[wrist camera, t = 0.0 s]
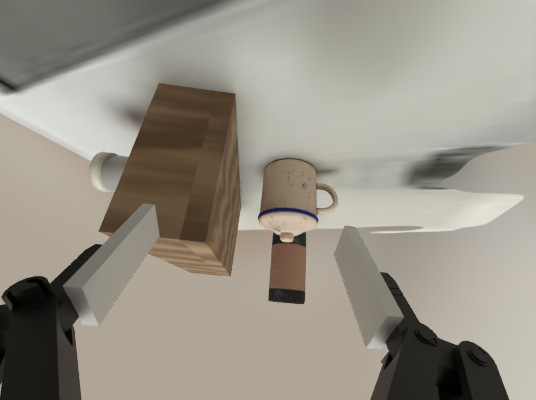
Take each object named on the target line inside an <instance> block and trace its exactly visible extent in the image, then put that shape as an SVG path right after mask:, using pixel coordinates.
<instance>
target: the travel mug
mask: <svg viewBox="0 0 536 400" xmlns="http://www.w3.org/2000/svg"><path fill="white" fill-rule="evenodd" d="M305 272H306V232H303V233H301V234H299V235H297V236H294V239H293V241H292V242H283V241H281V240H280V235H278V234H276V233H274V232H273V242H272V253H271V269H270V283H269V301H273V302H283V303H295V304H304V302H305Z"/></svg>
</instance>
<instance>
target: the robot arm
mask: <svg viewBox="0 0 536 400" xmlns="http://www.w3.org/2000/svg"><path fill="white" fill-rule="evenodd" d="M159 237H160V235H159V228H158V222H157V215H156V209H155V205H154V204H145V203H143V204H142V205H141V206H140V207H139V208H138V209H137V210H136V211H135V212H134V213H133V214H132V215H131V216H130V217H129V218H128V219H127V220H126V221H125V223H124V224H123V225H122V226H121V227H120V228H119V229H118V230H117V231H116V232H115V233H114V234H113V235H112V236H111V237H110V238H109V239H108V240H107V241H106V242H105V243H104V244H103V245H99V244H95V245H93V246H91V247H90V248H88V249H86V250H85V251H84V252H83V253H82V254H81V255H80V256H79V257H78V258H77V259H75V260H74V261H73V262H72V263H71V265H69V266H68V267H67V268H66V269H65V270H64V271H63V272H62V273H61V274H60V275H59V276H58V277H57V278H55V279H54V281H52V282H51V283H49V282H48V280H47V278H45V277H42V276H34V277H30V278H26V279H23V280H21V281H19V282H17V283H15V284H13V285H12V286H10V287H9V288H8V289H7V290H6V291H5V292H4V293H3V295H2V299H3V301H4V302H5V303H6V304H4V305H0V384H1V382H2V387H1V395H0V400H81V392H80V381H79V371H78V361H77V351H76V341H75V331H74V327H73V324H74V323H75V321H76V320H77V319H78V317H79V319H80V321H81V323H82V325H92V326H99V325H100V324H101V322H102V321H103V319H104V318H105V316H106V315H107V313H108V312H109V310H110V309H111V307H112V306H113V304H114V303H115V302H116V300H117V299H118V297H119V296H120V294H121V292H122V291H123V290H124V288H125V287H126V285H127V284H128V282H129V281H130V279H131V278H132V277H133V275H134V273H135V272H136V271H137V269H138V268H139V266H140V265H141V263H142V262H143V260H144V259H145V257H146V256H147V254H148V253H149V251H150V250H151V249H152V247H153V246H154V244H155V243H156V241H157V240H158V238H159ZM334 256H335V259H336V261H337V264H338V267H339V270H340V273H341V276H342V279H343V282H344V285H345V288H346V291H347V294H348V297H349V299H350V302H351V305H352V308H353V311H354V314H355V317H356V320H357V323H358V326H359V329H360V331H361V334H362V337H363V340H364V343H365V346H366V348H370V349H381V348H382V347H383V345H384V344H385V343H386V345H387V348H388V350H389V352H388V353H387V354H386V356H385V357H384V358H383V360H382V361H381V363H383V366H382V369H381V372H380V374H379V377H378V380H377V383H376V385H375V389H374V391H373V394H372V397H371V400H509V398H508V395H507V393H506V390H505V387H504V385H503V382H502V379H501V376H500V374H499V371H498V369H497V366H496V364H495V362H494V360H493V359H492V357H491V356H490V355H489V354H488V353H487V352H486V351H484V349H482V348H481V347H479V346H478V345H476V344H475V343H472V342H469V341H462V342H461V343H460V344H459V345H458V346H457V345H455V344H452V343H450V342H447V341H444V340H442V339H439V338H438V337H437V335H436V334H435V333H434V332H433V331H432V330H431V329H429V328H428V327H427V326H426V325H424V324H422V323H420V322H419V320H418V319H417V317H416V315H415V314H414V312H413V310H412V309H411V307H410V305H409V304H408V302H407V300H406V298H405V297H404V296H403V293H402V292H401V290H400V289H399V287H398V285H397V283H396V282H395V280H394V279H393V278H392V277H391V276H390V275H389V274H388V273H383V272H379V270H378V268H377V266H376V264H375V262H374V260H373V259H372V257H371V255H370V253H369V251H368V249H367V248H366V246H365V244H364V242H363V240H362V238H361V236H360V235H359V233H358V231H357V229H356V227H352V226H344V229H343V232H342V235H341V237H340V240H339V243H338V245H337V248H336V251H335V254H334Z"/></svg>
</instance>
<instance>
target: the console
mask: <svg viewBox="0 0 536 400" xmlns="http://www.w3.org/2000/svg"><path fill="white" fill-rule="evenodd" d="M143 203H145V204H154V205H155V209H156V215H157V222H158V228H159V235H160V237H159V238H158V240H157V241H156V243H155V244H154V246H153V247H152V249H151V250H150V251H149V253H148V254H151V255H153V256H155V257H157V258H160V259H162V260H164V261H166V262H169V263H171V264H173V265H175V266H178V267H180V268H182V269H185V270H187V271H189V272H191V273H199V274H209V275H219V276H231V271H232V264H233V257H234V249H235V243H236V236H237V229H238V222H239V215H240V209H241V199H240V180H239V160H238V141H237V121H236V101H235V94H230V93H223V92H215V91H208V90H201V89H194V88H187V87H179V86H172V85H165V84H158V87H157V89H156V92H155V94H154V97H153V99H152V102H151V104H150V107H149V109H148V111H147V114H146V116H145V119H144V121H143V124H142V126H141V129H140V131H139V134H138V136H137V138H136V141H135V143H134V146H133V148H132V151H131V153H130V156H129V158H128V161H127V163H126V165H125V168H124V170H123V173H122V175H121V178H120V180H119V183H118V185H117V188H116V190H115V192H114V195H113V197H112V200H111V202H110V205H109V207H108V210H107V212H106V215H105V217H104V220H103V222H102V225H101V227H100V229H99V232H101V233H103V234H106V235H108V236H110V237H111V236H112V235H113V234H114V233H115V232H116V231H117V230H118V229H119V228H120V227H121V226H122V225H123V224H124V223H125V221H126V220H127V219H128V218H129V217H130V216H131V215H132V214H133V213H134V212H135V211H136V210H137V209H138V208H139V207H140V206H141V205H142V204H143Z"/></svg>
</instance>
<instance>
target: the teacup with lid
mask: <svg viewBox="0 0 536 400" xmlns="http://www.w3.org/2000/svg"><path fill="white" fill-rule="evenodd" d="M316 189H321V190H325V191H327V192H328V193H329V194H330V195H331V196H332V199H333V204H332V205H331V206H330V207H328V208H316ZM337 204H338V198H337V194H336V192H335V191H334V190H333V188H332V187H330V186H329V185H326V184H322V183H316V171H315V169H314V168H313V167H312V166H311V165H310V164H308V163H306V162H303V161H300V160H295V159H284V160H278V161H275V162H273V163H271V164H270V165H268V166H267V167H266V169H265V172H264V180H263V190H262V199H261V209H260V214H259V216H258V220H259V223H260V225H261V226H263V227H264V228H266V229H269V230H272V231H273V232H274V233H276V234H278V235H280V240H281V241H283V242H292V241H293V239H294V236H297V235H299V234H301V233H303V232H307V231H310V230H312V229H314V228H315V227H316V226H317V223H318V218H317V217H316V214H328V213H331V212H332V211H334V210H335V209H336V207H337Z"/></svg>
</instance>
